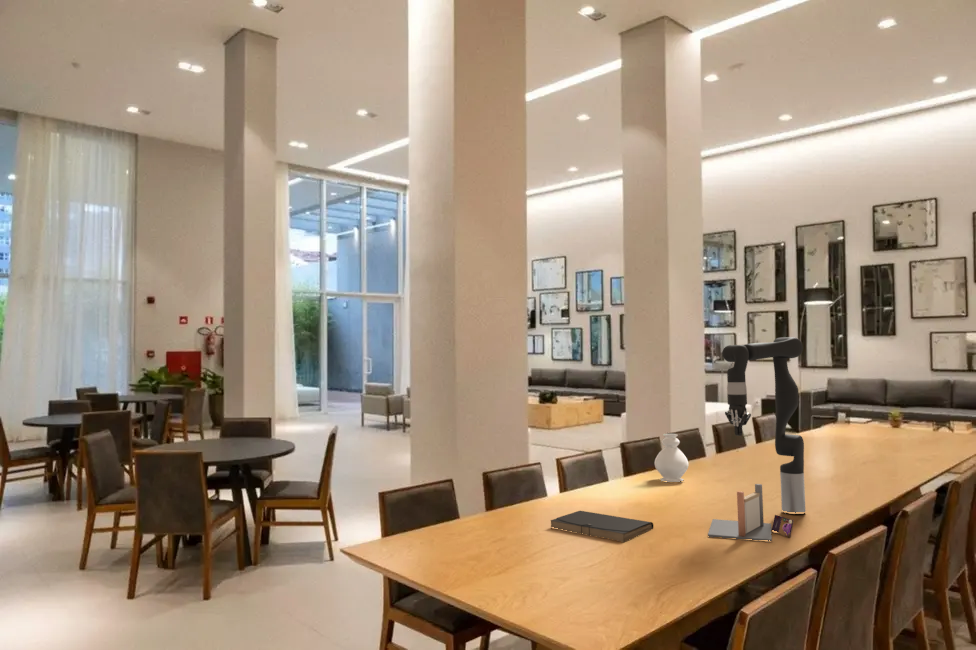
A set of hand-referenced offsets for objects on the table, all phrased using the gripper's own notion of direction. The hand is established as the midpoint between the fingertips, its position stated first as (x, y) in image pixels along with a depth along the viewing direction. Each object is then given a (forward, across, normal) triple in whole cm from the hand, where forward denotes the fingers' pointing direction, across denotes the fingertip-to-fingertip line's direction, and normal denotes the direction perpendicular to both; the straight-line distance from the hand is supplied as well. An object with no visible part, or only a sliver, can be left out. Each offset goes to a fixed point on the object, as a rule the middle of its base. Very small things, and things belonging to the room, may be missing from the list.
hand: (738, 435), depth 266 cm
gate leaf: (+33, -15, +9) cm, 38 cm away
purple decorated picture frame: (+35, -22, -1) cm, 41 cm away
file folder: (+36, +16, +57) cm, 69 cm away
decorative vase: (+35, +83, -29) cm, 94 cm away
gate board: (+35, -11, +11) cm, 38 cm away
